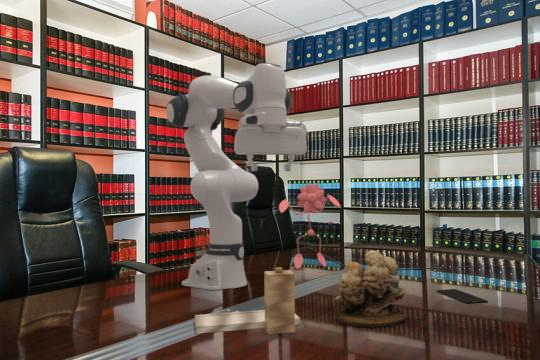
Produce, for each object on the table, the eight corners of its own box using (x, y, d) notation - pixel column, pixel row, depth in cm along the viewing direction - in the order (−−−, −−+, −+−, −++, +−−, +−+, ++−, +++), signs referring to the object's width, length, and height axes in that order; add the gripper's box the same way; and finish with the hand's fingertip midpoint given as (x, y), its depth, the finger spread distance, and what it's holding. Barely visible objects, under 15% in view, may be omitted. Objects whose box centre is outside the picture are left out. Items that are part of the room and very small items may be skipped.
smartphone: (466, 302, 112) (435, 290, 127) (466, 305, 112) (435, 292, 127) (489, 301, 113) (455, 288, 128) (489, 304, 113) (455, 291, 128)
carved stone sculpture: (393, 310, 107) (392, 245, 108) (419, 325, 96) (418, 251, 96) (328, 315, 103) (328, 247, 104) (347, 331, 92) (347, 254, 92)
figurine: (276, 268, 169) (276, 183, 170) (334, 264, 176) (334, 183, 176) (287, 276, 154) (287, 183, 155) (350, 272, 161) (349, 183, 162)
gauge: (268, 334, 90) (268, 270, 90) (258, 318, 101) (257, 261, 102) (295, 332, 91) (294, 268, 91) (281, 316, 103) (281, 260, 103)
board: (196, 333, 90) (196, 326, 91) (194, 321, 99) (194, 315, 99) (300, 324, 96) (300, 318, 96) (290, 314, 105) (289, 307, 105)
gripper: (303, 124, 119) (303, 171, 118) (232, 122, 114) (233, 171, 114) (309, 120, 112) (310, 170, 112) (236, 118, 108) (236, 170, 107)
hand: (271, 171), depth 113 cm, fingers open, 8 cm apart
